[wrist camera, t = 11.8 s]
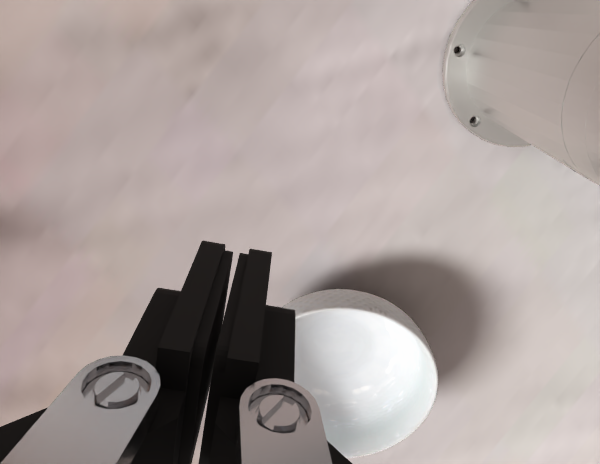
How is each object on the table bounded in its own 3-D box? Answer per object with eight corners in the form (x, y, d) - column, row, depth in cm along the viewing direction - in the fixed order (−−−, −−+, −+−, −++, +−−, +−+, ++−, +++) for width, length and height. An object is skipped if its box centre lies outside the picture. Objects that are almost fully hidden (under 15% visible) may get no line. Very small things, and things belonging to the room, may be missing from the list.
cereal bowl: (457, 326, 47) (481, 377, 41) (349, 426, 53) (356, 484, 47) (319, 232, 43) (323, 272, 37) (218, 352, 49) (206, 404, 42)
